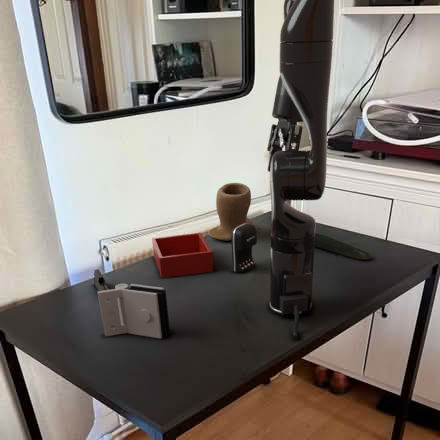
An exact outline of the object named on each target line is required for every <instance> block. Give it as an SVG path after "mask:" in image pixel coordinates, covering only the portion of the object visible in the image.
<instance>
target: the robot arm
mask: <svg viewBox="0 0 440 440" xmlns="http://www.w3.org/2000/svg"><path fill="white" fill-rule="evenodd" d="M334 19H335V0H284V1H283V23H282V25H281V28H280V33H279V42H280V43H279V77H278V81H277V85H276V90H275V95H274V101H273V106H272V112H271V116H272V117H273V119H277V120H278V121H277V124H274V123H272V124H271V128H270V133H269V138H268V139H269V140H268V143H267V147H266V148H267V149H266V150H267V151H266V152H268V155H269V159H268V163H267V164H268V165H267V172H269V175H270V176H269V180H270V181H269V182H270V183H269V184H270V203H271V204H270V205H271V207H270V209H271V213H270V214H271V215H270V216H271V218H270V270H269V271H270V277H269V278H270V279H269V281H270V283H269V284H270V285H269V286H270V287H269V309H270V311H272V312H273V313H274V314H277V315H278V316H279V315H280V316H282V317H283V318H290V317H294V322H293V326H292V338H293V340H297V339H298V338H299V335H298V328H299V323H300V316H305V315H311V310H312V306H313V303H312V301H313V300H312V299H313V298H312V297H313V279H314V259H315V247H314V246H315V233H316V228H317V225H316V224H317V223H316V220H315V218H314V217H313V216H312V215H310V214H308V213H305V212H303V211H300V210H298V209H296V208H294V207H293V206H292V205H291V204H289V202H288V201H318V200H321V199H322V197H323V195H324V193H325V189H326V181H327V159H328V158H327V154H328V153H327V152H328V151H327V149H328V148H327V147H328V109H329V108H328V106H329V95H330V85H331V84H330V83H331V73H332V72H331V71H332V62H333V61H332V60H333V48H334V47H333V46H334V45H333V44H334V41H333V40H334V24H335V21H334ZM298 123H303V124H304V126H305V129H306V132H307V135H308V139H309V144H310V149H309V150H305V149H303V150H300V147H301V146H300V145H301V141H302V134H303V130H304V129H303V128H304V127H303V126H302V125H299V124H298Z"/></svg>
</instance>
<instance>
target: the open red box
mask: <svg viewBox="0 0 440 440" xmlns="http://www.w3.org/2000/svg"><path fill="white" fill-rule="evenodd" d="M151 242H152V251H153V253H152V254H153V258H154V261H155V263H156V266H157V269H158V272H159V274H160V277H161V279H163V278H172V277H179V276H188V275H196V274H197V275H198V274H204V273H213V272H214V261H213V260H214V259H213V251H212V249H211V247H210V246H209V244H208V243H207V241H206V239H205V237H204V236H203V235H202V233H201V232H195V233H188V234H185V233H184V234H177V235H168V236H159V237H152V238H151Z"/></svg>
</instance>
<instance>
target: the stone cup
mask: <svg viewBox="0 0 440 440" xmlns="http://www.w3.org/2000/svg"><path fill="white" fill-rule="evenodd" d="M215 198H216V200H215V204H216V205H215V206H216V207H215V208H216V213H217V216H218V219H219V225H217V226H216V227H213V228H212V229H210V230H209V231H208V235H209V236H210V237H211V238H213V239H215V240H220V241H226V242H227V241H232V230H233V229H234V228H235V227H237V226H239V225H241V224H243V223H248V224H251V225H254V226H255V227H256V228H257V226H256V224H254V223H253V221H252V220H250V219H249V217H248V213H249V210H250V207H251V203H252V192H251V189H250V187H249V186H248V185H246V184H244V183H241V182H228V183H225V184H223V185H222V186H221V187H219V188H218V190H217V191H216V197H215Z"/></svg>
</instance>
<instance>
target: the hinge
mask: <svg viewBox="0 0 440 440" xmlns="http://www.w3.org/2000/svg"><path fill="white" fill-rule="evenodd" d="M114 287H115V288H113V289H109V290H105V291H97V298H98V303H99V308H100V314H101V315H100V316H101V319H102V326H103V331H104V332H103V333H104V337H111V336H118V335H122V334H129V335H130V334H131V335H137V336H143V337H148V338H149V337H150V338H155V339H160V340H161V339H162V338H163V339H164V338H165V339H166V338H168V335H171V329H170V319H169V310H168V300H167V299H168V298H167V290H166V289H165V288H164V287H161V286H151V285H145V284H138V283H131V284H127V283H118V284H116V285H115V286H114ZM107 298H109V299H110V301H109V302H107V301H106V299H107ZM111 326H113V327H111Z"/></svg>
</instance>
